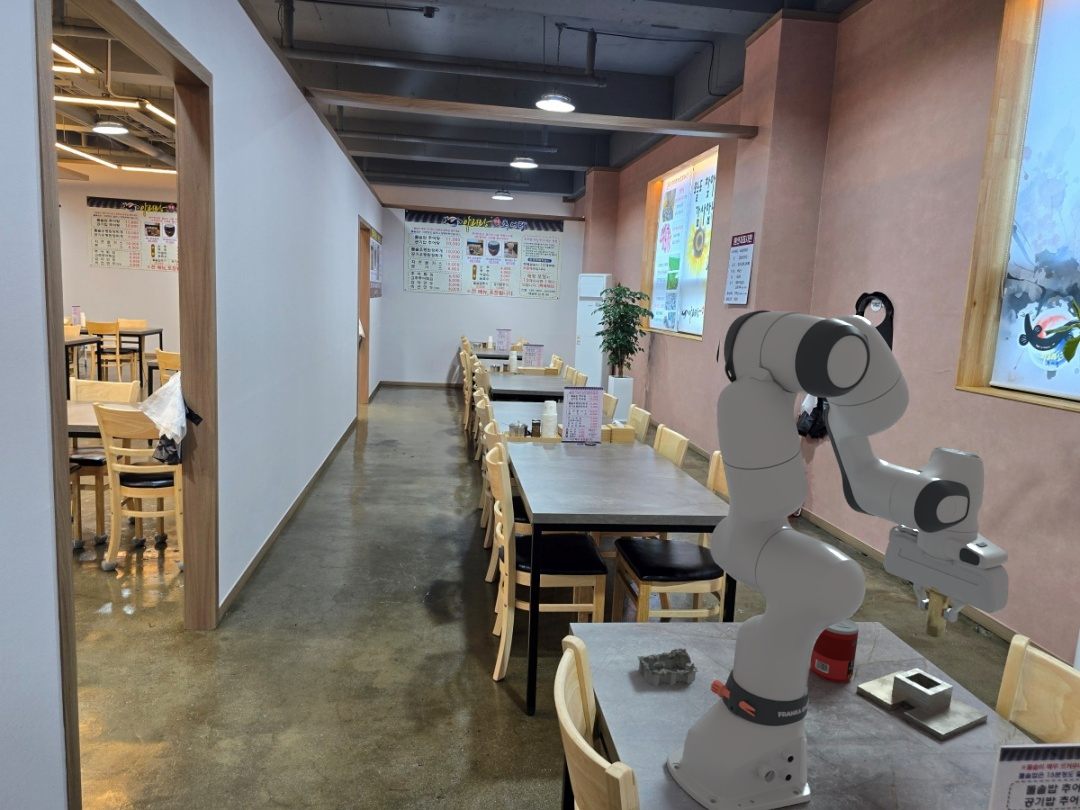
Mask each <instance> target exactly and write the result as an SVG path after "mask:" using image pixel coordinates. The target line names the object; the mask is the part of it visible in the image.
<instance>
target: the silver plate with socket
mask: <svg viewBox="0 0 1080 810" xmlns="http://www.w3.org/2000/svg"><path fill="white" fill-rule="evenodd" d="M953 689H954V685H951V684H949V683H947V682H945V681H944V680H941V679H939V678H938V677H935V676H934V675H932V674H930V673H927V672H926V671H924V670H922V669H921V668H920V669H919V668H918V667H916V668H912V669H909V670H907V671H905V670H902V669H901V670H898V671H896V672H893V673H890V674H886V675H885V676H881V677H878V678H875V679H873V680H870V681H869V680H868V681H866V682H863V683H861V684H858V685H857V687H856V692H857V693H859V694H861V695H862V696H864V697H866V698H867V699H869V700H871V701H873V702H874V703H876V704H878V705H879V706H881V707H882V708H884V709H886V710H888V711H890V712H892V711H894V710H896V709H899V708H901V707H902V708H904V709H906V710H907V711H905V712H904V713H903V719H904V720H905V721H907V722H909V723H910V724H911V725H913V726H915V727H917V728H919V729H920V730H922V731H924V732H926V733H927V734H929V735H931V736H932V737H934V738H936V739H937V740H939V741H941V742H942V741H944V740H947V739H950V738H951V737H954V736H955V735H958V734H960V733H963V732H965V731H967V730H969V729H971V728H973V727H976V726H978V725H981V724H983V723H985V722H987V721H988V713H985V712H983V711H981V710H979V709H977V708H975V707H973V706H972V705H970V704H968V703H967V702H964V701H962V700H960V699H959V698H956V697H954V696H953Z"/></svg>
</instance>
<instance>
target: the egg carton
mask: <svg viewBox="0 0 1080 810" xmlns="http://www.w3.org/2000/svg"><path fill="white" fill-rule="evenodd" d="M637 659H638V660H637V661H638V662H639V665H638V672H639V674H644V678H643V680H644V682H645V683H648V684H651V685H652V686H655V687H656V686H659V685H660V683H667V684H669V685H670V686H672V685H674V686H675V685H676V682H684V683H686V684H687V685H688V684H689V685H692V684H693V681H695V680H696V672H697V673H698V672H699V670H698V668H697V666H695V663H692V661H691V657H690V655H689V653H688V652H687V648H678V649H677V648H674V649H672V650H671V651H670V652H662V653H660V654H659V653H658V654H654V653H653V654H649V655H647V656H640V655H639V656H638V655H637ZM675 666H677V667H678V666H679V667H680V668H683V669H681V670H679V669H676V671H673V670H671V669H674V668H675ZM669 669H670V670H669Z"/></svg>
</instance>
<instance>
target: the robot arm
mask: <svg viewBox="0 0 1080 810" xmlns="http://www.w3.org/2000/svg"><path fill="white" fill-rule="evenodd" d="M723 358H724V372H725V375H726V377H727V379H728V380H729V382H730V383H729V384H727V385H726V386H725V387H723V389H722V390H721V392H720V393H719V395H718V398H717V403H716V407H717V408H716V419H717V420H716V421H717V423H716V424H717V436H718V444H719V449H720V450H719V451H720V456H721V461H722V464H723V470H724V476H725V481H726V487H727V491H728V499H729V501H728V502H729V506H728V509H729V510H728V514H727V516H725V517H723V519H721V520H720V521H719V522H718V524H717V525H716V526H715V528H714V530H713V532H712V534H711V538H710V546H709V547H710V549H709V550H710V554H711V557H712V559H713V561H714V563H715V564H716V565H718V566H719V568H721V569H722V570H723V571H724V572H725V573H727V574H728V575H729V576H730V577H731V578H732V579H734V580H735V581H737V582H739V583H740V584H743V585H744V586H746V587H749V588H751V589H752V590H754V591H755V592H758V593H760V594H762V595H764V596H765V600H766V606H765V607H766V608H765V611H764V613H763V614H758V615H757V614H756V615H754V616H751V617H749V618H748V619H746V620H745V621H744V622H743V623H742V624H741V625H740V626H739V628H738V629H737V632H736V636H735V637H736V638H735V648H734V657H733V666H732V667H733V668H732V669H731V671H730V673H729V675H728V677H727V680H726V682H725V684H723V682H721V680H718V679H715V680H713V682H712V683H711V686H710V691H711V692H712V693H714V694H715V695H717V696H718V697H719V699H718V700H717V701H716V702H715V703H714V704H713V705H712V706H711V707H710V708H709V709H708V710H707V711H706V712H705V713H704V714H703V715H702V716H701V717H700V718H699V719H698V720H697V721H696V722H695V723H694V724H693V725H692V726H691V727H690V728H689V729H688V732H687V734H686V737H685V739H684V745H682V746H681V747H679V748H678V749H676V750H674V751H673V752H671V753H669V754H668V756H667V758H666V766H667V769H668V771H669V773H670V775H671V776H672V778H673V779H674V780H675V782H677V784H678V785H679V786H680V787H681V788H682V790H683V791H684V792H686V793H687V794H688V795H689V796H691V798H693V799H694V801H696V802H698V803H699V804H700V805H701V806H703V807H705V808H706V809H708V810H774V809H778V808H783V807H784V808H785V807H786V806H787V807H789V806H792V805H793V806H794V805H798V804H803V803H806V802H807V803H808V802H809V801H810V800H811V796H812V795H811V794H812V793H811V788H810V786H809V784H808V739H807V734H806V728H805V727H806V726H805V717H806V716H807V713H808V707H809V704H810V699H809V695H810V694H809V693H810V692H809V691H810V690H809V687H808V679H809V671H810V668H811V666H810V662H811V656H812V651H813V648H814V645H815V643H816V640H817V639H818V637H819V635H820V634H821V633H822V632H823V631H824V630H825V629H826V628H827V627H829V626H830V625H833V624H836V623H840V622H842V621H844V620H846V619H850V617H852V616H854V615H855V613H857V611H858V610H859V608H860V607H861V605H862V603H863V601H864V598H865V595H866V578H865V574H864V570H863V569H862V566H861V565H860V564H859V562H857V561H856V560H854V559H853V558H851V557H850V556H849V555H847V554H846V553H844V552H843V551H842V550H840V549H838V548H837V547H835V546H834V545H831V544H830V543H827V542H825V541H822V540H820V539H817V538H816V537H812V536H810V535H807V534H805V533H803V532H799V531H798V530H796V529H794V528H793V527H792V525H791V524H790V521H789V519H788V517H789V516H790V515H791V516H792V514H794V513H796V512H797V511H798V510H799V509H800V508H801V507H802V506H803V504H804V502H805V500H806V499H807V496H808V494H809V493H808V492H809V487H808V481H807V480H808V479H807V474H806V468H805V463H804V457H803V451H802V445H801V439H800V435H799V431H798V426H797V423H796V419H795V415H794V414H795V413H794V411H795V405H796V401H797V397H798V394H804V395H806V394H807V395H810V396H812V397H815V398H826V401H827V403H828V404H827V405H826V408H825V411H824V423H825V427H826V432H827V435H828V439H829V441H830V444H831V447H832V450H833V453H834V455H835V459H836V462H837V464H838V467H839V471H840V475H841V483H842V493H843V496H844V498H845V501H846V503H847V504H848V506H849V507H850V508H851V510H853V511H855V512H857V513H861V514H864V515H868V516H871V517H872V516H873V517H877V518H880V519H882V520H886V521H888V522H890V523H894V524H897V525H894V526H892V527H891V529H890V530H889V536H888V544H887V546H886V550H885V553H884V558H883V567H884V569H885V572H887V573H889V574H891V575H894V576H896V577H899V578H900V579H901V578H902V579H903V580H906V581H909V582H911V583H912V588H913V592H914V594H915V596H916V599H917V609H919V610H922V611H924V612H927V610H928V602H929V598H928V595H927V592H926V589H928V590H929V589H930V588H931V587H933V588H936V589H937V590H938V592H939V593H941V594H943V595H945V596H948V597H949V599H950V598H951V604H952V605H953V606H952V607H951V608H950V607H948V609H945V610H944V613H943V614H944V616H943V619H945V620H946V622H950V623H956V622H957V620H958V616H959V612H960V611H962V609H964V607H965V606H967V605H968V606H971V607H973V608H976V609H978V610H979V611H983V612H985V613H988V614H994V613H998V612H999V611H1002V610H1004V609H1005V608H1006V606H1007V605H1008V598H1009V573H1008V572H1007V570H1006V567H1004V566H1003V565H1004V564H1006V563H1007V562H1008V559H1009V554H1008V553H1007V552H1006V550H1004V549H1002V547H999V546H998V545H996V544H994V543H993V542H992V541H991V540H988V538H986V537H984V536H983V535H982V534H980V532H979V528H980V527H979V521H978V515H979V511H980V509H981V507H982V504H983V500H984V499H983V498H984V489H985V468H984V461H983V459H982V458H981V457H980V456H979V455H977V454H975V453H973V452H968V451H963V450H960V449H954V448H949V447H945V446H944V447H942V446H941V447H940V446H938V447H935V448H933V449H932V451H931V453H930V456H929V458H928V459H929V460H928V461H927V463H926V464H924V465H923V466H921V467H920V468H916V469H913V468H910V467H909V468H908V467H906V466H901V465H898V464H894V463H891V462H889V461H886V460H884V459H883V458H880V457H878V456H877V455H876V454H874V451H873V449H872V445H871V441H870V437H871V436H874V435H878V434H881V433H883V432H884V431H887V430H888V429H889V428H891V427H893V426H894V425H895V424H897V423H898V422H899V421H900V420H901V418H902V417H903V416H904V414H905V412H906V411H907V409H908V406H909V403H910V392H909V387H908V384H907V383H908V382H907V381H906V378H905V375H904V373H903V372H902V370H901V368H900V365H899V363H898V361H897V359H896V357H895V355H894V353H893V351H892V349H891V348H890V347H889V345H888V343H887V341H886V340H885V339H884V337H883V336H882V334H881V333H880V332H879V331H878V329H877V328H876V327H875V326H874V325H873V323H872V322H871V321H870V320H869V319H867V318H866V317H864V316H861V315H856V314H844V315H843V314H842V315H839V316H836V317H832V318H831V317H829V318H825V317H821V316H817V315H816V316H815V315H811V314H805V313H802V312H800V311H788V310H787V311H783V310H781V311H778V310H777V311H771V310H766V309H764V310H762V309H761V310H754V311H751V312H750V311H749V312H747V313H744V314H742V315H740V316H738V317H736V319H735V320H734V321H732V323H731V324H730V326H729V327H728V329H727V333H726V335H725V338H724V344H723Z"/></svg>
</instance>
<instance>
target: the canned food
mask: <svg viewBox="0 0 1080 810" xmlns="http://www.w3.org/2000/svg"><path fill="white" fill-rule="evenodd" d="M859 630H860V629H859V625H858V623H856V622H855V621H853V620H852V619H850V618H848V619H846V620H844V621H842V622H840V623H836V624H833V625H830V626H829V627H827V628H826V629H825V630H824V631H823V632H822V633H821V634H820V635H819V637H818V639H817V640H816V643H815V645H814V648H813V651H812V656H811V661H810V669H811V672H812V673H813V674H814V675H815V676H817V677H818V678H820V679H822V680H824V681H828V682H832V683H837V684H841V683H843V684H844V683H848V682H849V681H851V679H852V677H853V675H854V669H855V668H854V667H855V661H856V655H857V654H856V652H857V647H858V646H857V645H858V638H859Z"/></svg>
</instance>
